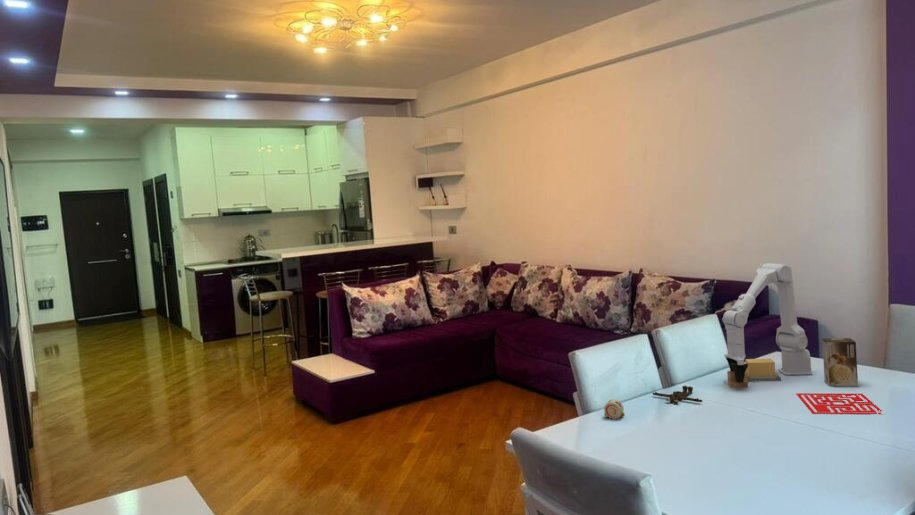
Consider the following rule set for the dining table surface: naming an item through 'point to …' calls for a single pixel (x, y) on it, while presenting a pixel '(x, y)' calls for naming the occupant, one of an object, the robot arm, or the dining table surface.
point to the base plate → (764, 378)
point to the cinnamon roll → (614, 409)
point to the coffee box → (840, 362)
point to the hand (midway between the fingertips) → (737, 379)
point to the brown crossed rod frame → (679, 395)
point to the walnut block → (732, 380)
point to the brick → (760, 367)
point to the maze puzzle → (823, 409)
